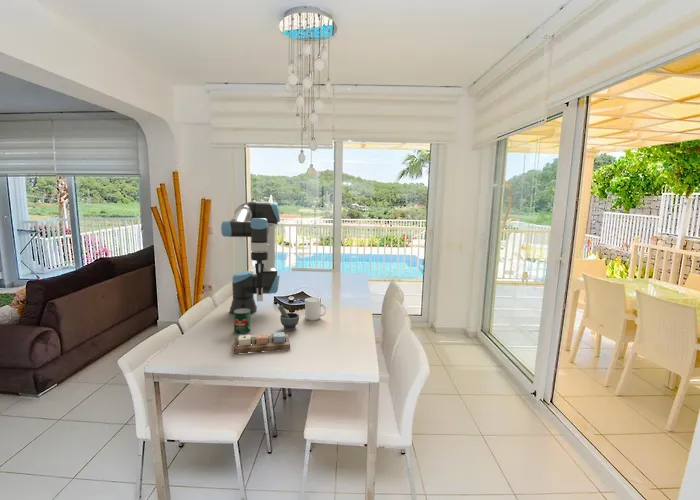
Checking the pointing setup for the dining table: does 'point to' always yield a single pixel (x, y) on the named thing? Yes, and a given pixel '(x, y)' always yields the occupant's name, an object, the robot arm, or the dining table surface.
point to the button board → (261, 345)
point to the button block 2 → (261, 338)
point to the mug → (313, 308)
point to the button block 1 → (244, 340)
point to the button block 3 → (278, 337)
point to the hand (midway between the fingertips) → (259, 301)
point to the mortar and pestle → (288, 319)
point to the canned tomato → (242, 321)
